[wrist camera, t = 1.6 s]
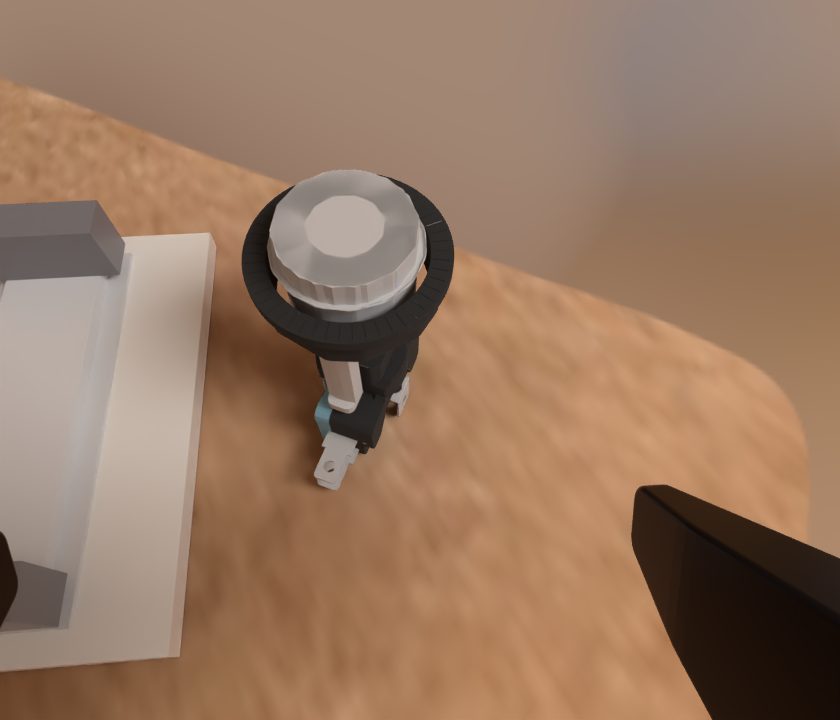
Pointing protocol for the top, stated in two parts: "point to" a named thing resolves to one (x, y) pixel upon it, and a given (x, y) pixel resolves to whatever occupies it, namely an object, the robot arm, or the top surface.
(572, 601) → the top surface
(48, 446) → the rail board
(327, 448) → the push button
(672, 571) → the robot arm
